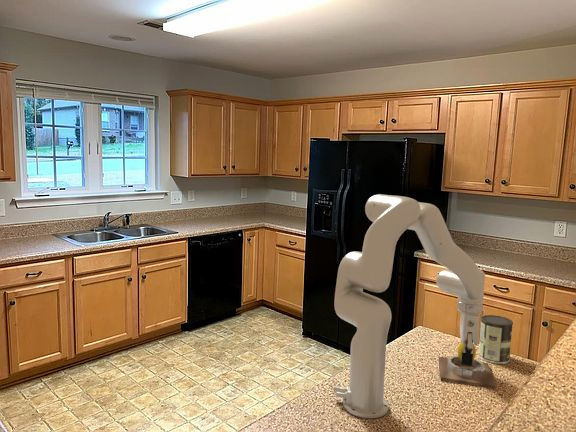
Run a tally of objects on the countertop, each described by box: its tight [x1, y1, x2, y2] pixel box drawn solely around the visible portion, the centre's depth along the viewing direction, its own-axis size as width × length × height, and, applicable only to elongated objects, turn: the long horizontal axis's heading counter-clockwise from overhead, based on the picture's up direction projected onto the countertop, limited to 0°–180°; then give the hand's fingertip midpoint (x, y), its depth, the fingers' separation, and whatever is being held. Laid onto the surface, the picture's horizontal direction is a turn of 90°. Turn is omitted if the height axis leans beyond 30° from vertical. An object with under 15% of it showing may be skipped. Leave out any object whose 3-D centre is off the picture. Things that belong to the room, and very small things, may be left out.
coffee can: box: [478, 314, 514, 365], centre depth 157 cm, size 10×10×14 cm
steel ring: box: [447, 355, 485, 378], centre depth 146 cm, size 11×11×2 cm
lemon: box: [456, 341, 477, 360], centre depth 145 cm, size 6×6×8 cm
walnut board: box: [437, 356, 497, 390], centre depth 146 cm, size 16×16×1 cm
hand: (465, 359), depth 145 cm, fingers closed on lemon, 5 cm apart
